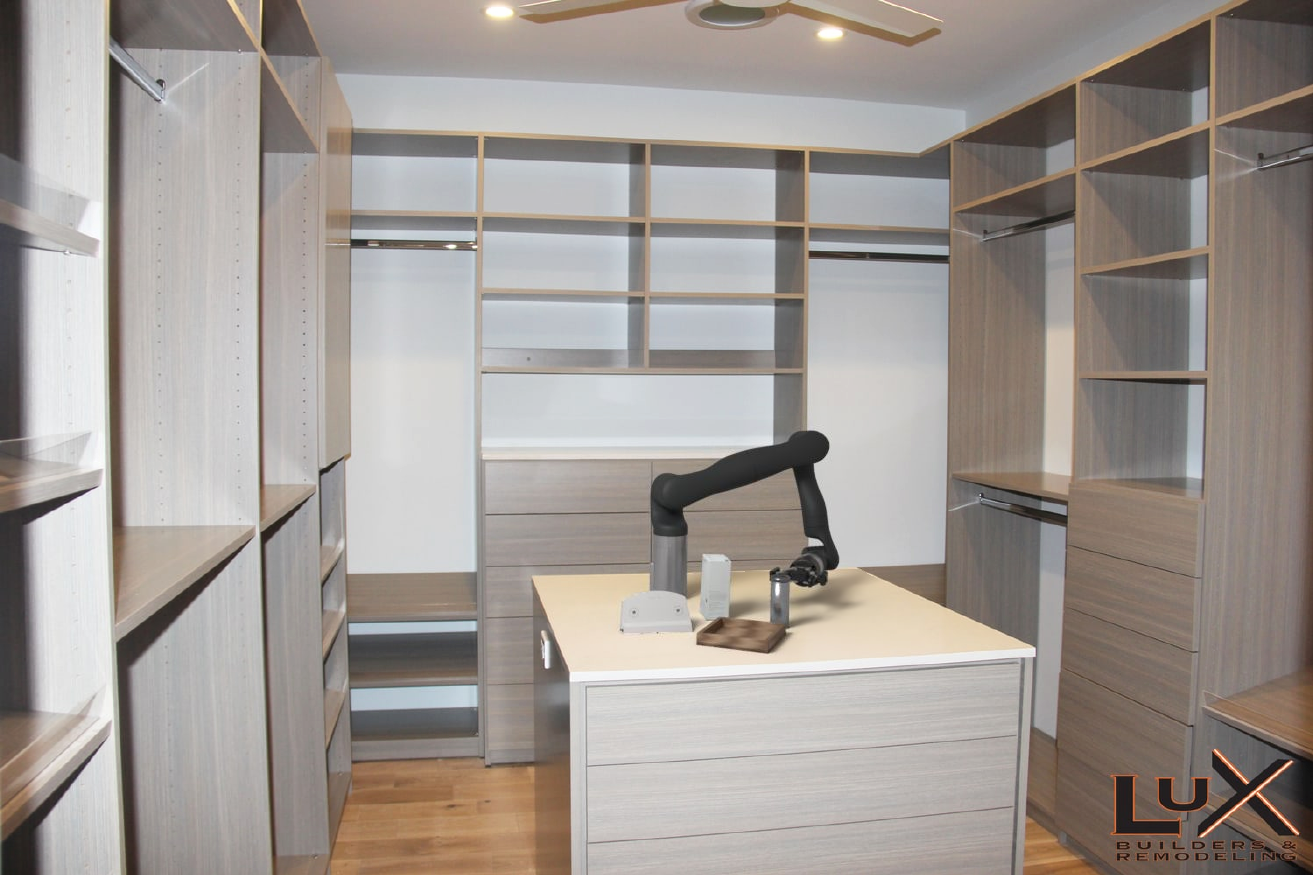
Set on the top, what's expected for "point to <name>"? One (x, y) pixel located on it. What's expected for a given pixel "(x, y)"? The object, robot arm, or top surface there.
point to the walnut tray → (741, 634)
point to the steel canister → (780, 599)
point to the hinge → (655, 613)
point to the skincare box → (715, 586)
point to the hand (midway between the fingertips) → (792, 582)
